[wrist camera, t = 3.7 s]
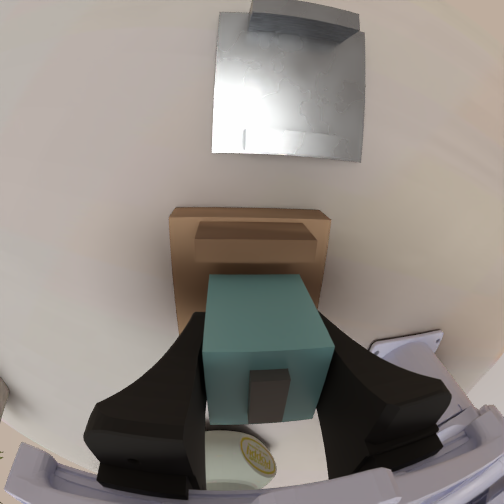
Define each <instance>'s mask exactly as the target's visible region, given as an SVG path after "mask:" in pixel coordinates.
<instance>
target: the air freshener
mask: <svg viewBox="0 0 504 504" xmlns="http://www.w3.org/2000/svg"><path fill="white" fill-rule="evenodd" d="M205 464H206V489H207V490H214V491H231V490H256V489H261V488H263V487H264V486H266V485H267V484H268V483H269V482H270V481H271V480H272V479H273V478H274V476H275V475H276V471H277V468H276V463H275V461H274V458H273V456H272V455H271V453H270V452H269V450H268V449H267V448H266V446H265V445H264V444H263V443H262V442H261V441H259V440H258V439H257V438H255V437H254V436H251V435H249V434H245V433H241V432H236V431H228V430H213V431H205Z"/></svg>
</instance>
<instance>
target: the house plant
mask: <svg viewBox="0 0 504 504" xmlns="http://www.w3.org/2000/svg"><path fill="white" fill-rule="evenodd" d="M8 395H9V389H8V387H7V386H6V384H5V383H4V381H3V380H2V379H1V378H0V421H1V418H2V414H3V411H4V408H5V404H6V401H7V398H8ZM0 453H1V452H0ZM1 458H3V457H0V459H1ZM0 503H1V502H0Z"/></svg>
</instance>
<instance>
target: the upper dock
mask: <svg viewBox="0 0 504 504" xmlns="http://www.w3.org/2000/svg"><path fill="white" fill-rule="evenodd" d="M330 225H331V219H329V218H328V217H327V216H326V215H325V214H323V213H322V212H321V211H320V210H306V209H277V208H221V207H188V208H175V209H174V211H173V212H172V214H171V215H170V216H169V231H170V248H171V261H172V274H173V285H174V295H175V304H176V313H177V321H178V329H179V335H180V334H181V333H182V331H183V330H184V328H185V326H186V325H187V323H188V322H189V320H190V318H191V316H192V314H193V313H194V312H206V303H207V293H208V283H209V274H225V275H262V274H299V275H300V277H301V279H302V281H303V283H304V285H305V287H306V289H307V291H308V293H309V295H310V297H311V299H312V301H313V303H314V305H315V307H316V309H317V308H318V303H319V297H320V292H321V286H322V280H323V274H324V267H325V261H326V254H327V248H328V240H329V233H330Z"/></svg>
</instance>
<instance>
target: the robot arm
mask: <svg viewBox="0 0 504 504" xmlns="http://www.w3.org/2000/svg"><path fill="white" fill-rule="evenodd" d="M318 313H319V315H320V317H321V319H322V321H323V323H324V325H325V327H326V329H327V331H328V333H329V335H330V337H331V339H332V341H333V343H334V346H335V348H334V352H333V355H332V359H331V362H330V366H329V369H328V372H327V376H326V379H325V382H324V385H323V388H322V391H321V394H320V398H319V401H318V403H317V406H316V409H317V412H318V417H319V421H320V426H321V431H322V436H323V442H324V447H325V454H326V461H327V468H328V477H329V480H325V481H320V482H314V483H309V484H302V485H295V486H288V487H279V488H269V489H256V490H231V491H214V490H207V489H206V464H205V411H206V402H207V395H206V385H205V376H204V365H203V354H202V349H203V337H204V325H205V314H206V312H194V313H193V314H192V316H191V318H190V320H189V322H188V323H187V325H186V326H185V328H184V330H183V331H182V333H181V334H180V335H179V337H178V338H177V340H176V341H175V342H174V344H173V345H172V346H171V347H170V349H169V350H168V351H167V352H166V353H165V355H164V356H163V357H162V358H161V359H160V360H159V361H158V362H157V363H156V364H155V365H154V366H153V367H152V368H151V369H150V370H148V371H147V372H146V373H145V374H144V375H143V376H141V377H140V378H139V379H138V380H136V381H135V382H134V383H132V384H131V385H129V386H128V387H126V388H125V389H123V390H122V391H120V392H118V393H116V394H115V395H113V396H111V397H109V398H107V399H105V400H103V401H101V402H99V403H97V404H96V405H95V407H94V409H93V411H92V413H91V415H90V417H89V420H88V423H87V426H86V429H85V432H84V435H83V437H84V441H85V443H86V445H87V446H88V448H89V449H90V450H91V452H92V453H93V454H94V455H95V456H96V458H97V459H98V460H99V461H100V466H99V470H98V475H96V474H92V473H88V472H85V471H81V470H78V469H75V468H72V467H69V466H66V465H63V464H60V463H57V462H56V460H55V459H54V458H53V457H52V456H51V455H50V454H48V453H47V452H45V451H43V450H41V449H38V448H35V447H33V446H31V445H29V444H26V443H24V442H21V444H20V447H19V449H18V452H17V454H16V457H15V459H14V462H13V465H12V467H11V470H10V473H9V476H8V479H7V482H6V485H5V488H4V490H5V491H6V492H7V493H8V494H10V495H11V496H12V497H14V498H15V499H17V500H18V501H20V502H21V503H23V504H504V417H503V416H502V414H501V413H500V412H499V411H498V409H497V408H496V407H495V406H494V405H488V406H487V405H484V406H483V407H481V408H480V410H478V409H477V408H475V407H474V405H473V404H472V403H471V401H470V400H469V398H468V397H467V396H466V394H465V393H464V391H463V390H462V389H461V387H460V386H459V385H458V383H457V382H456V381H455V379H454V378H453V377H452V375H451V374H450V373H449V371H448V370H447V369H446V368H445V366H444V365H443V364H442V362H441V361H440V360H439V359H438V357H437V356H436V355H435V352H436V350H437V348H438V346H439V344H440V341H441V339H442V337H443V332H442V331H441V330H438V331H433V332H428V333H423V334H418V335H413V336H407V337H401V338H395V339H389V340H382V341H377V342H375V343H373V344H372V346H371V349H370V351H368V350H367V349H365V348H364V347H362V346H361V345H359V344H358V343H357V342H355V341H354V340H352V339H351V338H350V337H348V336H347V335H346V334H345V333H343V332H342V331H341V330H340V329H339V328H337V327H336V326H335V325H334V324H333V323H332V322H330V321H329V320H328V319H327V318H326V317H325V316H324V315H322V314H321V313H320V312H319V311H318Z"/></svg>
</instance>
